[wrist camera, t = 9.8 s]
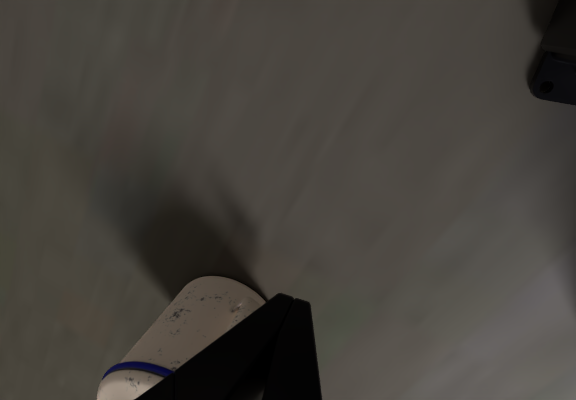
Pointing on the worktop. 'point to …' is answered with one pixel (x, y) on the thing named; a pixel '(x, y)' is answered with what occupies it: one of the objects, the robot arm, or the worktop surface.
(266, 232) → the worktop surface
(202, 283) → the teacup with lid
